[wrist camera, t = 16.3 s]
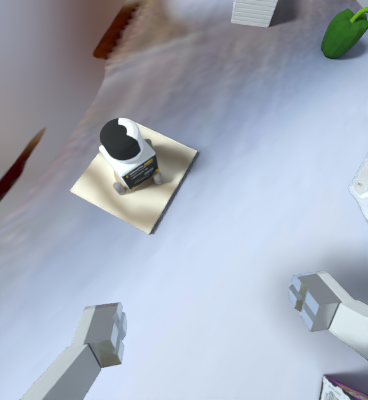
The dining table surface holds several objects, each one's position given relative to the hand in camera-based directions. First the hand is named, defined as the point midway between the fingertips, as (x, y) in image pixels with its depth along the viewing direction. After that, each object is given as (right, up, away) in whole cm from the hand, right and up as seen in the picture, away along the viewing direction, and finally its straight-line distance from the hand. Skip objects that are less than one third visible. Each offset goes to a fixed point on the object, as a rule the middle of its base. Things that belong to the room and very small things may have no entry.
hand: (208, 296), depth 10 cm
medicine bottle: (-11, +11, +32) cm, 35 cm away
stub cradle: (-11, +10, +33) cm, 36 cm away
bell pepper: (+39, +45, +46) cm, 75 cm away
